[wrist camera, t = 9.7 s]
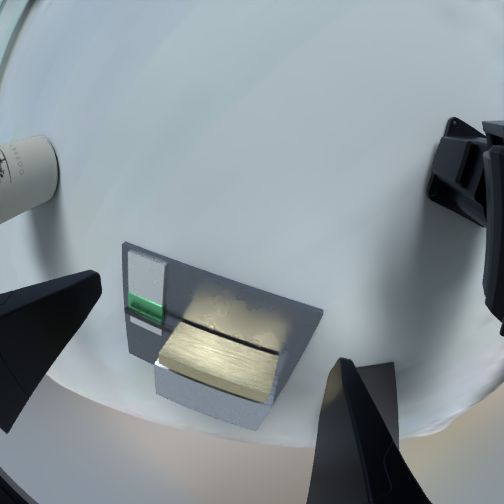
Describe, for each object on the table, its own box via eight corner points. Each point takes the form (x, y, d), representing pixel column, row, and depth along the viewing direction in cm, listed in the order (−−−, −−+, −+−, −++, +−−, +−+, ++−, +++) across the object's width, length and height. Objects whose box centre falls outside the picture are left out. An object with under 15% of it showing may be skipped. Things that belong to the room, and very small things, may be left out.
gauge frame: (323, 309, 23) (321, 347, 19) (271, 404, 30) (263, 434, 26) (125, 241, 24) (95, 263, 20) (131, 349, 32) (113, 373, 28)
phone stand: (387, 407, 27) (390, 493, 16) (340, 412, 29) (332, 499, 18) (393, 360, 23) (406, 467, 13) (336, 368, 25) (329, 476, 15)
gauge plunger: (278, 356, 25) (269, 394, 21) (258, 396, 28) (249, 429, 24) (129, 299, 26) (104, 325, 22) (133, 347, 30) (113, 372, 26)
